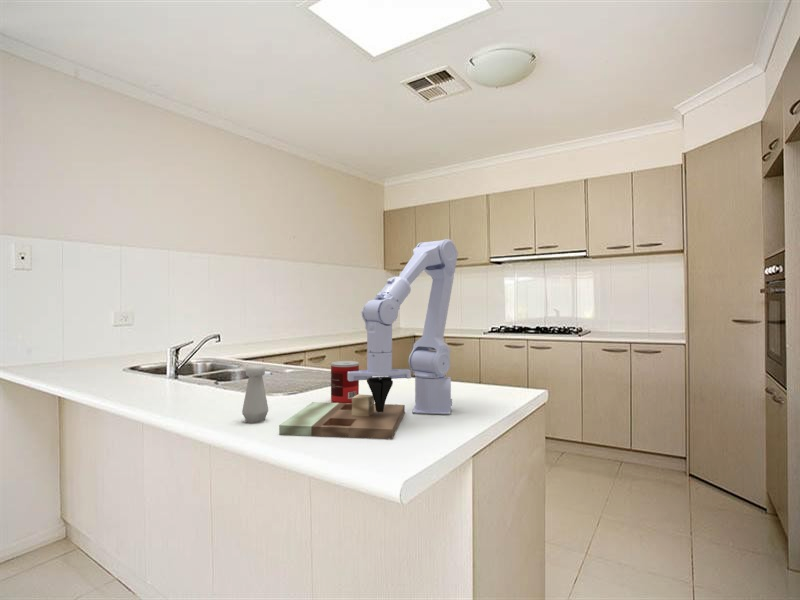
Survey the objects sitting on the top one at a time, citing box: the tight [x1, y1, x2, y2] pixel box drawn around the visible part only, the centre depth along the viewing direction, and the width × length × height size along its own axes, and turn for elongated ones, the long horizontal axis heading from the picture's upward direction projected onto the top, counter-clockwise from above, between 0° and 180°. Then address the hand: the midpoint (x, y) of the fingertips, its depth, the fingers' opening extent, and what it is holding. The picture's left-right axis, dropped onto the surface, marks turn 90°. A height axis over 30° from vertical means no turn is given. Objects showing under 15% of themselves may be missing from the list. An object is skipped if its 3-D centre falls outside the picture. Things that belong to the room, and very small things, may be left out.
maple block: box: [352, 393, 375, 416], centre depth 104 cm, size 4×4×4 cm
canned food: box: [330, 360, 360, 403], centre depth 125 cm, size 8×8×11 cm
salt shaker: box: [241, 364, 269, 424], centre depth 105 cm, size 6×6×13 cm
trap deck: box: [278, 401, 406, 440], centre depth 103 cm, size 24×22×2 cm
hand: (379, 411), depth 102 cm, fingers closed
